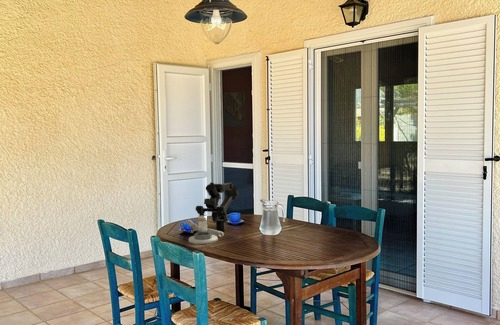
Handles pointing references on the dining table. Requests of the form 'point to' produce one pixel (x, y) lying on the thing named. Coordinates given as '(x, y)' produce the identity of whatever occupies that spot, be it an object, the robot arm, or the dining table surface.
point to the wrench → (195, 227)
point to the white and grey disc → (203, 238)
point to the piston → (202, 225)
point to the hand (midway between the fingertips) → (207, 222)
